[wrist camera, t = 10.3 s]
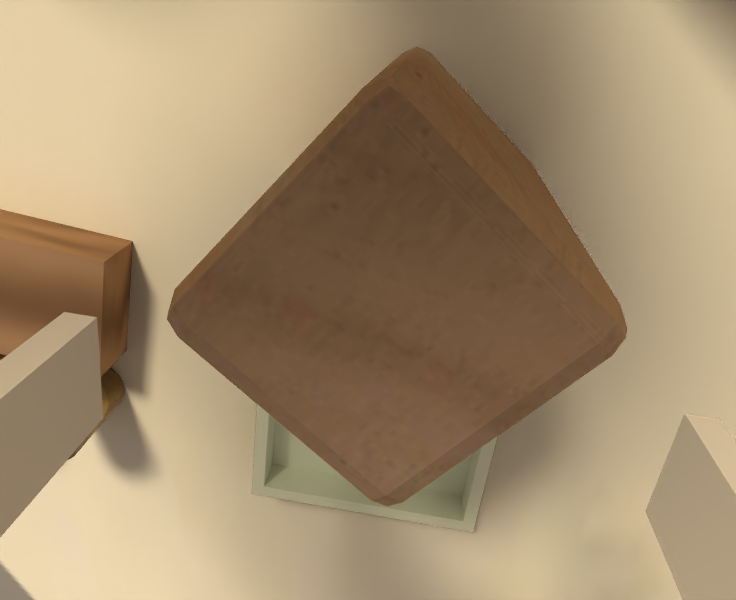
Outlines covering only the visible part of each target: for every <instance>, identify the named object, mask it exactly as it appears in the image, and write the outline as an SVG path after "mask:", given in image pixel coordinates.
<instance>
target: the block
mask: <svg viewBox="0 0 736 600" xmlns="http://www.w3.org/2000/svg"><path fill="white" fill-rule="evenodd" d="M167 320H168V321H169V323H170V325H171V326H172V328H173V329H174V331H175V333H176V334H177V336H178V337H179V338H180V339H181V340H182V341H184V342H185V343H186V344H187V345H188V346H190V347H191V348H192V349H193V350H194V351H195V352H197V353H198V354H199V355H200V356H201V357H202V358H204V359H205V360H206V361H207V362H208V363H210V364H211V365H212V366H213V367H214V368H215V369H217V370H218V371H219V372H220V373H221V374H223V375H224V376H225V377H226V378H227V379H228V380H230V381H231V382H232V383H233V384H234V385H236V386H237V387H238V388H239V389H240V390H241V391H243V392H244V393H245V394H246V395H247V396H248V397H250V398H251V399H252V400H253V401H254V402H256V403H257V404H258V405H259V406H260V407H261V408H263V409H264V410H265V411H266V412H267V413H269V414H270V415H271V416H272V417H273V418H274V419H276V420H277V421H278V422H279V423H280V424H282V425H283V426H284V427H285V428H286V429H287V430H289V431H290V432H291V433H292V434H293V435H294V436H296V437H297V438H298V439H299V440H300V441H302V442H303V443H304V444H305V445H306V446H307V447H309V448H310V449H311V450H312V451H313V452H315V453H316V454H317V455H318V456H319V457H320V458H322V459H323V460H324V461H325V462H326V463H328V464H329V465H330V466H331V467H332V468H333V469H335V470H336V471H337V472H338V473H339V474H340V475H342V476H343V477H344V478H345V479H346V480H348V481H349V482H350V483H351V484H352V485H353V486H355V487H356V488H357V489H358V490H359V491H361V492H362V493H363V494H364V495H365V496H366V497H368V498H369V499H370V500H371V501H374V502H376V503H379V504H382V505H385V506H391V505H395V504H399V503H403V502H404V501H406V500H407V499H408V498H410V497H411V496H413V495H414V494H415V493H417V492H418V491H420V490H421V489H423V488H424V487H425V486H427V485H428V484H430V483H431V482H433V481H434V480H435V479H437V478H438V477H440V476H441V475H443V474H444V473H445V472H447V471H448V470H450V469H451V468H453V467H454V466H455V465H457V464H458V463H460V462H461V461H462V460H464V459H465V458H467V457H468V456H470V455H471V454H472V453H474V452H475V451H477V450H478V449H480V448H481V447H482V446H484V445H485V444H487V443H488V442H490V441H491V440H492V439H494V438H495V437H497V436H498V435H500V434H501V433H502V432H504V431H505V430H507V429H508V428H510V427H511V426H512V425H514V424H515V423H517V422H518V421H519V420H521V419H522V418H524V417H525V416H527V415H528V414H529V413H531V412H532V411H534V410H535V409H537V408H538V407H539V406H541V405H542V404H544V403H545V402H547V401H548V400H549V399H551V398H552V397H554V396H555V395H557V394H558V393H559V392H561V391H562V390H564V389H565V388H567V387H568V386H569V385H571V384H572V383H574V382H575V381H576V380H578V379H579V378H581V377H582V376H584V375H585V374H586V373H588V372H589V371H591V370H592V369H594V368H595V367H596V366H598V365H599V364H601V363H602V362H604V361H605V360H606V359H608V358H609V357H611V356H612V355H613V354H614V352H615V351H616V350H617V348H618V347H619V346H620V344H621V343H622V342H623V341H624V339H625V338H626V332H627V326H626V323H625V320H624V316H623V313H622V309H621V306H620V304H619V302H618V301H617V299H616V297H615V296H614V294H613V293H612V291H611V289H610V288H609V286H608V285H607V283H606V281H605V280H604V278H603V277H602V275H601V274H600V272H599V270H598V269H597V267H596V266H595V264H594V262H593V261H592V259H591V258H590V256H589V254H588V253H587V251H586V250H585V248H584V246H583V245H582V243H581V242H580V240H579V238H578V237H577V235H576V234H575V232H574V231H573V229H572V227H571V226H570V224H569V223H568V221H567V219H566V218H565V216H564V215H563V213H562V211H561V210H560V208H559V207H558V205H557V203H556V202H555V200H554V199H553V197H552V195H551V194H550V192H549V191H548V189H547V187H546V186H545V184H544V183H543V181H542V180H541V178H540V176H539V175H538V173H537V172H536V170H535V168H534V167H533V165H532V164H531V163H530V162H529V161H528V160H527V159H526V158H525V157H524V155H523V154H522V153H521V152H520V151H519V150H518V149H517V148H516V147H515V146H514V144H513V143H512V142H511V141H510V140H509V139H508V138H507V137H506V136H505V135H504V133H503V132H502V131H501V130H500V129H499V128H498V127H497V126H496V125H495V124H494V122H493V121H492V120H491V119H490V118H489V117H488V116H487V115H486V114H485V113H484V111H483V110H482V109H481V108H480V107H479V106H478V105H477V104H476V103H475V102H474V100H473V99H472V98H471V97H470V96H469V95H468V94H467V93H466V92H465V91H464V89H463V88H462V87H461V86H460V85H459V84H458V83H457V82H456V81H455V80H454V78H453V77H452V76H451V75H450V74H449V73H448V72H447V71H446V70H445V69H444V67H443V66H442V65H441V64H440V63H439V62H438V61H437V60H436V59H435V58H434V56H433V55H432V54H431V53H429V52H427V51H425V50H422V49H420V48H418V47H416V48H414V49H411V50H409V51H407V52H405V53H403V54H401V55H400V56H399V57H398V58H397V59H396V60H395V61H393V62H392V63H391V64H390V65H389V66H388V67H387V68H385V69H384V70H383V71H382V72H381V73H380V74H379V75H377V76H376V77H375V78H374V79H373V80H372V81H371V82H369V83H368V84H367V85H366V86H365V87H364V88H363V89H362V90H361V91H360V92H359V93H358V94H357V95H356V96H355V97H354V98H353V99H352V100H351V101H350V103H349V104H348V105H347V106H346V107H345V108H344V109H343V110H342V111H341V112H340V113H339V114H338V115H337V116H336V118H335V119H334V120H333V121H332V122H331V123H330V124H329V125H328V126H327V127H326V128H325V129H324V130H323V131H322V132H321V134H320V135H319V136H318V137H317V138H316V139H315V140H314V141H313V142H312V143H311V144H310V145H309V146H308V147H307V149H306V150H305V151H304V152H303V153H302V154H301V155H300V156H299V157H298V158H297V159H296V160H295V161H294V162H293V164H292V165H291V166H290V167H289V168H288V169H287V170H286V171H285V172H284V173H283V174H282V175H281V176H280V177H279V178H278V180H277V181H276V182H275V183H274V184H273V185H272V186H271V187H270V188H269V189H268V190H267V191H266V192H265V193H264V195H263V196H262V197H261V198H260V199H259V200H258V201H257V202H256V203H255V204H254V205H253V206H252V207H251V208H250V210H249V211H248V212H247V213H246V214H245V215H244V216H243V217H242V218H241V219H240V220H239V221H238V222H237V223H236V224H235V226H234V227H233V228H232V229H231V230H230V231H229V232H228V233H227V234H226V235H225V236H224V237H223V238H222V239H221V241H220V242H219V243H218V244H217V245H216V246H215V247H214V248H213V249H212V250H211V251H210V252H209V253H208V254H207V256H206V257H205V258H204V259H203V260H202V261H201V262H200V263H199V264H198V265H197V266H196V267H195V268H194V269H193V270H192V272H191V273H190V274H189V275H188V276H187V277H186V278H185V279H184V280H183V281H182V282H181V283H180V284H179V285H178V287H177V288H176V289H175V291H174V294H173V298H172V301H171V305H170V308H169V312H168V317H167Z"/></svg>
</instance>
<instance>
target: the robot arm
mask: <svg viewBox="0 0 736 600" xmlns="http://www.w3.org/2000/svg"><path fill="white" fill-rule="evenodd" d="M102 419H103V406H102V390H101V374H100V358H99V341H98V325H97V317H92V316H86V315H80V314H74V313H68V312H64V313H62V314H61V315H60V316H58V317H57V318H56V319H54V320H53V321H52V322H50V323H49V324H48V325H46V326H45V327H44V328H42V329H41V330H40V331H39V332H37V333H36V334H35V335H33V336H32V337H31V338H29V339H28V340H27V341H25V342H24V343H23V344H21V345H20V346H19V347H17V348H16V349H15V350H13V351H12V352H11V353H10V354H8V355H7V356H6V357H4V358H3V359H2V360H0V537H1V536H2V535H3V534H4V533H5V531H6V530H7V529H8V528H9V527H10V526H11V524H12V523H13V522H14V521H15V520H16V519H17V517H18V516H19V515H20V514H21V513H22V512H23V511H24V509H25V508H26V507H27V506H28V505H29V504H30V502H31V501H32V500H33V499H34V498H35V497H36V495H37V494H38V493H39V492H40V491H41V490H42V488H43V487H44V486H45V485H46V484H47V483H48V482H49V480H50V479H51V478H52V477H53V476H54V475H55V473H56V472H57V471H58V470H59V469H60V468H61V466H62V465H63V464H64V463H65V462H66V461H67V460H68V458H69V457H70V456H71V455H72V454H73V453H74V451H75V450H76V449H77V448H78V447H79V446H80V444H81V443H82V442H83V441H84V440H85V439H86V437H87V436H88V435H89V434H90V433H91V432H92V431H93V429H94V428H95V427H96V426H97V425H98V424H99V422H100V421H101V420H102ZM646 513H647V516H648V518H649V520H650V523H651V525H652V528H653V530H654V532H655V535H656V537H657V540H658V542H659V544H660V547H661V549H662V551H663V554H664V556H665V559H666V561H667V563H668V566H669V568H670V570H671V573H672V575H673V578H674V580H675V582H676V585H677V587H678V590H679V592H680V594H681V597H682V599H683V600H736V440H735V439H734V437H733V436H732V435H731V433H730V432H729V430H728V429H727V427H726V426H725V425H724V423H723V422H722V420H721V419H716V418H709V417H703V416H697V415H691V414H684V417H683V419H682V422H681V424H680V427H679V429H678V432H677V434H676V437H675V439H674V442H673V444H672V446H671V449H670V451H669V454H668V456H667V459H666V461H665V464H664V466H663V469H662V471H661V474H660V476H659V479H658V481H657V484H656V486H655V489H654V491H653V494H652V496H651V499H650V501H649V504H648V506H647V509H646Z"/></svg>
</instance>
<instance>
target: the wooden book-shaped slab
mask: <svg viewBox="0 0 736 600" xmlns="http://www.w3.org/2000/svg"><path fill="white" fill-rule="evenodd" d="M132 245H133V241H129V240H125V239H121V238H117V237H112V236H108V235H104V234H100V233H96V232H92V231H88V230H84V229H79V228H75V227H71V226H67V225H63V224H59V223H55V222H51V221H47V220H42V219H38V218H34V217H30V216H26V215H22V214H18V213H14V212H10V211H5V210H1V209H0V354H3V355H8V354H10V353H11V352H12V351H13V350H15V349H16V348H17V347H19V346H20V345H21V344H23V343H24V342H25V341H27V340H28V339H29V338H31V337H32V336H33V335H35V334H36V333H37V332H39V331H40V330H41V329H42V328H44V327H45V326H46V325H48V324H49V323H50V322H52V321H53V320H54V319H56V318H57V317H58V316H60V315H61V314H62V313H64V312H68V313H74V314H80V315H86V316H92V317H97V325H98V341H99V358H100V374H101V376H102V375H103V374H104V373H105V372H106V371H107V370H108V369H109V368H110V367H111V366H112V365H113V364H114V363H115V362H116V361H117V360H118V359H119V357H120V356H121V355H122V354H123V353H124V352H125V351H126V350H127V333H128V315H129V298H130V280H131V263H132Z"/></svg>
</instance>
